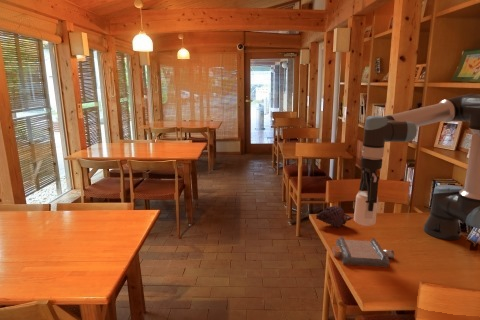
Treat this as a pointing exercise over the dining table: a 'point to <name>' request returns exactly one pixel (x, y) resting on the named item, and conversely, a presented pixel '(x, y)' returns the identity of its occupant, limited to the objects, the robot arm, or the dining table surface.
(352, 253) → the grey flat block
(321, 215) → the pine cone
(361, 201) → the beverage can
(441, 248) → the dining table surface
